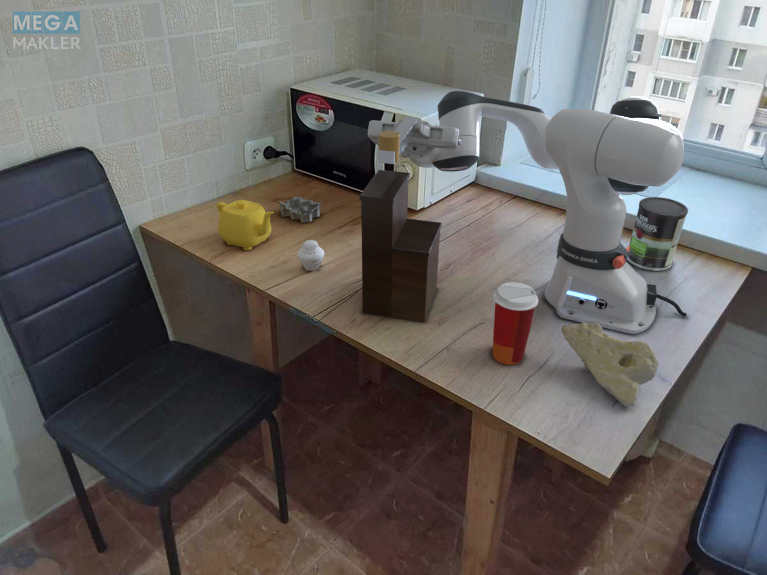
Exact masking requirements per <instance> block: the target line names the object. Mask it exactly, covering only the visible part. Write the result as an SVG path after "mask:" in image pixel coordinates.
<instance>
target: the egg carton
mask: <svg viewBox="0 0 767 575" xmlns="http://www.w3.org/2000/svg"><path fill="white" fill-rule="evenodd" d="M276 203H277V204H279V210H280V215H281V217H290V220H300V223H302V224H304V223H311V222H313V218H319V217H320V214H321V212H320V207H321V205H322V202H315V201H313V200H311V199H306V198H303V197H302V196H295V197H292V198H289V200H287V199H286V200H285V203H284V202H283V201H279V200H277V202H276Z"/></svg>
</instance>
